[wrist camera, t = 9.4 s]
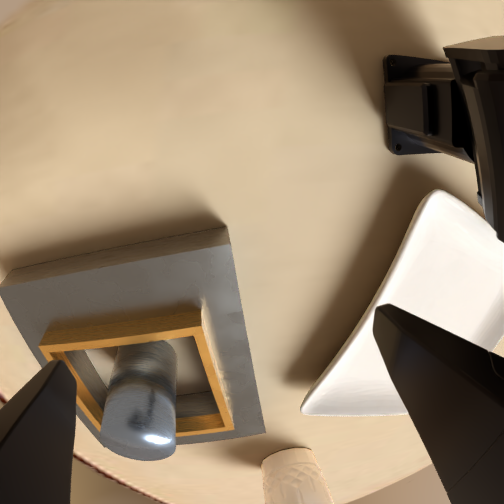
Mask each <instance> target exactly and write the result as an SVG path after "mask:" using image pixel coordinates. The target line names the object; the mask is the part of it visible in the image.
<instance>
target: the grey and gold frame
mask: <svg viewBox="0 0 504 504" xmlns="http://www.w3.org/2000/svg"><path fill="white" fill-rule="evenodd" d="M0 296H1V298H2V300H3V302H4V304H5V306H6V308H7V310H8V311H9V313H10V315H11V317H12V319H13V321H14V323H15V324H16V326H17V328H18V330H19V331H20V333H21V335H22V337H23V338H24V340H25V342H26V343H27V345H28V347H29V348H30V350H31V351H32V353H33V355H34V356H35V358H36V359H37V361H38V362H39V364H40V365H41V367H42V368H43V367H44V366H45V365H46V364H47V363H48V362H50V361H51V360H63V361H64V362H65V363H66V365H67V366H68V368H69V369H70V371H71V372H72V374H73V376H74V377H75V379H76V382H77V397H76V415H77V416H78V417H79V419H80V420H81V421H82V422H83V423H84V425H85V426H86V427H87V428H88V429H89V431H90V432H91V433H92V434H93V435H94V436H95V437H96V439H97V440H98V441H99V442H100V443H101V444H102V445H103V446H104V447H106V446H105V445H104V444H103V443H102V442H101V440H100V436H99V435H100V429H101V424H102V418H103V413H104V408H105V403H106V398H107V393H108V390H107V388H106V386H105V385H104V383H103V382H102V380H101V378H100V377H99V375H98V373H97V372H96V370H95V368H94V367H93V365H92V363H91V362H90V360H89V358H88V356H87V355H86V353H85V351H84V349H93V348H103V347H112V346H121V345H129V344H137V343H145V342H152V341H160V340H167V339H174V338H180V337H187V336H193V335H194V338H195V341H196V344H197V347H198V350H199V353H200V356H201V359H202V362H203V365H204V368H205V371H206V374H207V377H208V380H209V383H210V386H211V389H212V391H211V392H204V393H196V394H189V395H180V396H176V445H182V444H193V443H202V442H211V441H218V440H226V439H232V438H239V437H245V436H251V435H257V434H262V433H266V431H265V426H264V421H263V416H262V411H261V406H260V401H259V395H258V390H257V385H256V380H255V375H254V370H253V364H252V359H251V354H250V348H249V343H248V338H247V332H246V327H245V322H244V316H243V311H242V305H241V300H240V294H239V288H238V283H237V277H236V272H235V266H234V260H233V254H232V249H231V243H230V238H229V233H228V228H227V227H222V228H216V229H211V230H205V231H200V232H194V233H189V234H184V235H178V236H173V237H168V238H162V239H157V240H152V241H147V242H142V243H137V244H132V245H127V246H122V247H117V248H112V249H107V250H102V251H97V252H92V253H88V254H83V255H78V256H73V257H69V258H64V259H59V260H55V261H50V262H46V263H41V264H37V265H32V266H28V267H23V268H19V269H15V270H12V271H11V272H10V273H9V274H8V276H7V277H6V278H5V279H4V280H3V281H2V283H1V284H0Z"/></svg>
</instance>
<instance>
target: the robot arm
mask: <svg viewBox="0 0 504 504" xmlns="http://www.w3.org/2000/svg"><path fill="white" fill-rule="evenodd" d="M443 50H444V52H445V55H446V57H447V58H449V61H450V63H449V62H443V61H437V60H431V59H424V58H416V57H408V56H399V55H388V56H385V57H384V59H383V67H384V76H385V86H384V93H385V107H386V123H387V125H388V139H389V150H390V152H391V153H393V154H396V155H407V154H425V153H445V154H448V155H451V156H454V157H456V158H459V159H462V160H465V161H467V162H470V163H473V164H475V169H476V176H477V183H478V192H477V196H478V202H479V204H480V205H481V206H482V207H483V210H484V214H485V219H486V220H487V222H488V223H489V224H490V226H491V227H492V228H493V229H494V231H496V237H497V239H498V240H500V241H501V242H503V243H504V36H492V37H487V38H482V39H477V40H472V41H467V42H463V43H458V44H454V45H450V46H446V47H443ZM390 59H391V60H392V61H393V65H392V66H391V64H390ZM396 144H398V149H397V150H395V146H396ZM372 331H373V336H374V339H375V341H376V343H377V346H378V348H379V351H380V353H381V356H382V358H383V361H384V363H385V366H386V369H387V371H388V374H389V376H390V378H391V380H392V382H393V384H394V386H395V388H396V390H397V392H398V394H399V396H400V398H401V400H402V402H403V404H404V406H405V407H406V409H407V411H408V413H409V415H410V417H411V419H412V421H413V423H414V425H415V427H416V429H417V431H418V433H419V435H420V437H421V439H422V441H423V443H424V445H425V448H426V450H427V452H428V454H429V456H430V458H431V460H432V462H433V464H434V466H435V469H436V471H437V473H438V475H439V477H440V479H441V482H442V483H443V486H444V488H445V490H446V492H447V495H448V497H449V500H450V502H451V504H504V358H503V357H501V356H499V355H497V354H495V353H493V352H491V351H489V352H488V350H486V349H484V348H482V347H480V346H478V345H476V344H474V343H472V342H470V341H468V340H466V339H464V338H462V337H460V336H457V335H455V334H453V333H451V332H449V331H447V330H445V329H443V328H441V327H439V326H437V325H435V324H432V323H430V322H428V321H426V320H424V319H422V318H420V317H418V316H416V315H414V314H411V313H409V312H407V311H405V310H403V309H401V308H399V307H397V306H395V305H392V304H390V303H387V304H383V305H379V306H377V307H376V308H375V312H374V320H373V328H372ZM76 397H77V382H76V379H75V377H74V376H73V374H72V372H71V371H70V369H69V368H68V366H67V365H66V363H65V362H64V361H63V360H51V361H50V362H48V363H47V364H46V365H45V366H44V367H43V368H42V369H41V370H40V371H39V372H38V373H37V374H36V375H35V376H34V377H33V378H32V379H31V380H30V381H29V382H28V383H26V384H25V385H24V386H23V387H22V388H21V389H20V390H19V391H18V392H17V393H16V394H15V395H14V396H13V397H12V398H11V399H10V400H9V401H8V402H7V403H6V404H5V405H4V406H3V407H2V408H1V409H0V504H70V493H71V474H72V460H73V449H74V439H75V427H76Z"/></svg>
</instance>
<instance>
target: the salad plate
mask: <svg viewBox="0 0 504 504" xmlns="http://www.w3.org/2000/svg"><path fill="white" fill-rule="evenodd" d="M387 303H390V304H392V305H395V306H397V307H399V308H401V309H403V310H405V311H407V312H409V313H411V314H414V315H416V316H418V317H420V318H422V319H424V320H426V321H428V322H430V323H432V324H435V325H437V326H439V327H441V328H443V329H445V330H447V331H449V332H451V333H453V334H455V335H457V336H460V337H462V338H464V339H466V340H468V341H470V342H472V343H474V344H476V345H478V346H480V347H482V348H484V349H486V350H488V352H489V351H491V352H492V351H493V350H494V349H495V347H496V346H497V345H498V343H499V342H500V340H501V339H502V338H503V336H504V243H503V242H501V241H500V240H498V239H497V237H496V231H494V229H493V228H492V227H491V226H490V224H489V223H488V222H487V221H486V220H485V219H483V218H482V217H481V216H480V215H479V214H478V213H476V212H475V211H474V210H473V209H471V208H470V207H469V206H468V205H466V204H465V203H464V202H462V201H461V200H459V199H458V198H456V197H455V196H453V195H452V194H450V193H448V192H447V191H444V190H442V189H435V190H433V191H431V192H430V193H428V194H427V195H426V196H425V197H424V198H423V200H422V201H421V202H420V204H419V206H418V207H417V209H416V211H415V214H414V216H413V218H412V220H411V222H410V225H409V227H408V229H407V232H406V234H405V236H404V238H403V241H402V243H401V245H400V247H399V250H398V252H397V254H396V256H395V258H394V260H393V262H392V264H391V266H390V268H389V270H388V272H387V274H386V276H385V278H384V280H383V282H382V283H381V285H380V287H379V289H378V291H377V292H376V294H375V296H374V298H373V300H372V301H371V303H370V305H369V306H368V308H367V310H366V311H365V313H364V314H363V316H362V318H361V319H360V321H359V322H358V324H357V325H356V327H355V329H354V330H353V332H352V333H351V335H350V336H349V338H348V339H347V341H346V342H345V343H344V345H343V346H342V348H341V349H340V350H339V352H338V353H337V355H336V356H335V357H334V359H333V360H332V362H331V363H330V364H329V365H328V367H327V368H326V369H325V371H324V372H323V373H322V374H321V376H320V377H319V378H318V379H317V381H316V382H315V383H314V384H313V386H312V387H311V389H310V390H309V391H308V393H307V395H306V396H305V398H304V400H303V402H302V404H301V407H300V411H301V413H303V414H305V415H316V416H387V415H405V414H409V413H408V411H407V409H406V407H405V406H404V404H403V402H402V400H401V398H400V396H399V394H398V392H397V390H396V388H395V386H394V384H393V382H392V380H391V378H390V376H389V374H388V371H387V369H386V366H385V363H384V361H383V358H382V356H381V353H380V351H379V348H378V346H377V343H376V341H375V339H374V336H373V331H372V328H373V320H374V312H375V308H376V307H377V306H379V305H383V304H387Z"/></svg>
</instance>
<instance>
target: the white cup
mask: <svg viewBox="0 0 504 504" xmlns="http://www.w3.org/2000/svg"><path fill="white" fill-rule="evenodd" d="M261 469H262V476H263V489H264V497H265V504H334V501H333V499H332V496H331V493H330V491H329V488H328V486H327V483H326V480H325V478H324V476H323V474H322V471H321V469H320V468H319V466H318V464H317V461H316V458H315V456H314V453H313V451H312V450H309V449H306V448H291V449H287V450H282V451H279V452H276V453H274V454H271V455H270V456H268V457H267V458H265V459H264V460H263V462H262V465H261Z"/></svg>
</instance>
